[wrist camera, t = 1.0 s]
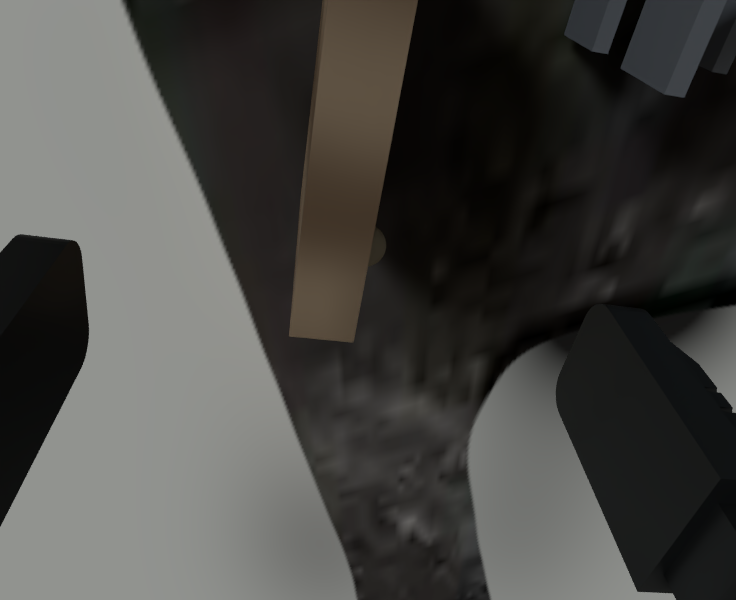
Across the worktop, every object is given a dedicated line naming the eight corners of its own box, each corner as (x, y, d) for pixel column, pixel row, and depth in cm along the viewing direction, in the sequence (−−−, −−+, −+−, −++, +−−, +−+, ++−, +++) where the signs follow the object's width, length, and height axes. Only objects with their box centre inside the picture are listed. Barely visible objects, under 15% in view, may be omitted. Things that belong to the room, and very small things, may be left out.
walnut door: (335, -124, 21) (343, -138, 12) (427, -106, 22) (500, -106, 13) (300, 191, 28) (288, 336, 19) (372, 200, 28) (394, 346, 19)
